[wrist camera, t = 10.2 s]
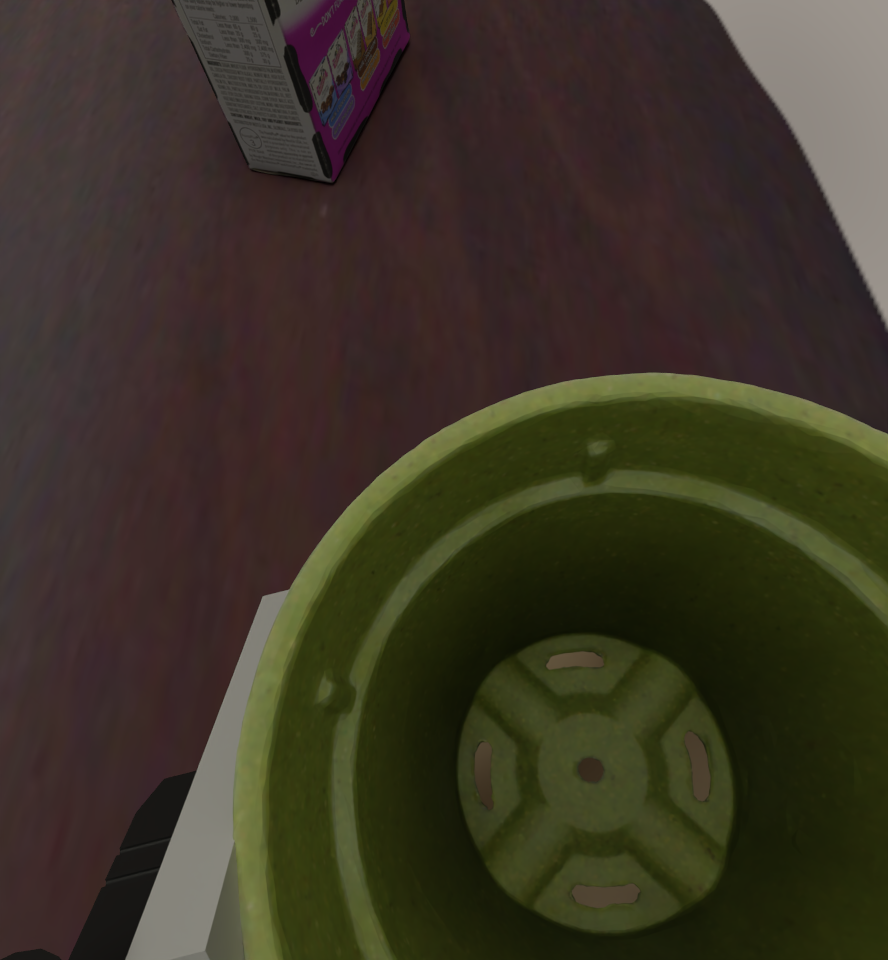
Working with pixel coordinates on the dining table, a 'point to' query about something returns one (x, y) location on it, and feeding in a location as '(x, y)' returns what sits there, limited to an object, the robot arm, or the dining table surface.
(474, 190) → the dining table surface
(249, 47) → the candy bar box
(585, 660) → the plate
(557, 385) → the plant pot
